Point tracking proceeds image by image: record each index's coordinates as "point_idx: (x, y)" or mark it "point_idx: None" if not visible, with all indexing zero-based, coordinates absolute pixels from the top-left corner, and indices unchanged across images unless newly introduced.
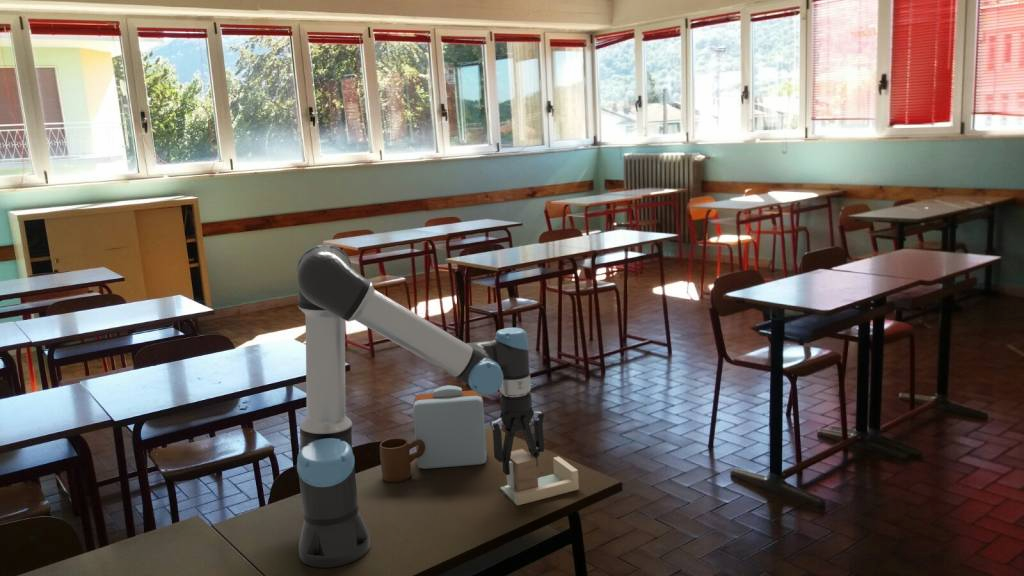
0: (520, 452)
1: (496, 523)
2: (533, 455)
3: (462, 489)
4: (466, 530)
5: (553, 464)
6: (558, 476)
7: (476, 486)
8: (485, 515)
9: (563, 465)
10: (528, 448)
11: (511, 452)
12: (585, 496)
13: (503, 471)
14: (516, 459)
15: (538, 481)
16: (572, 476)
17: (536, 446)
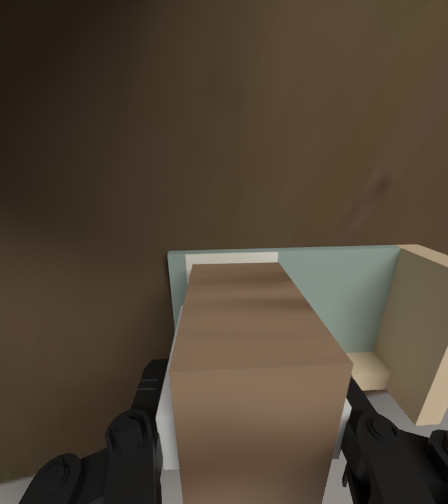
0: (295, 418)
1: (94, 424)
2: (347, 451)
3: (11, 166)
4: (6, 426)
5: (438, 264)
6: (394, 284)
7: (81, 170)
8: (72, 382)
9: (437, 369)
10: (370, 465)
11: (233, 389)
12: (366, 396)
13: (144, 375)
14: (209, 491)
15: (315, 278)
16: (400, 405)
17: (440, 485)
